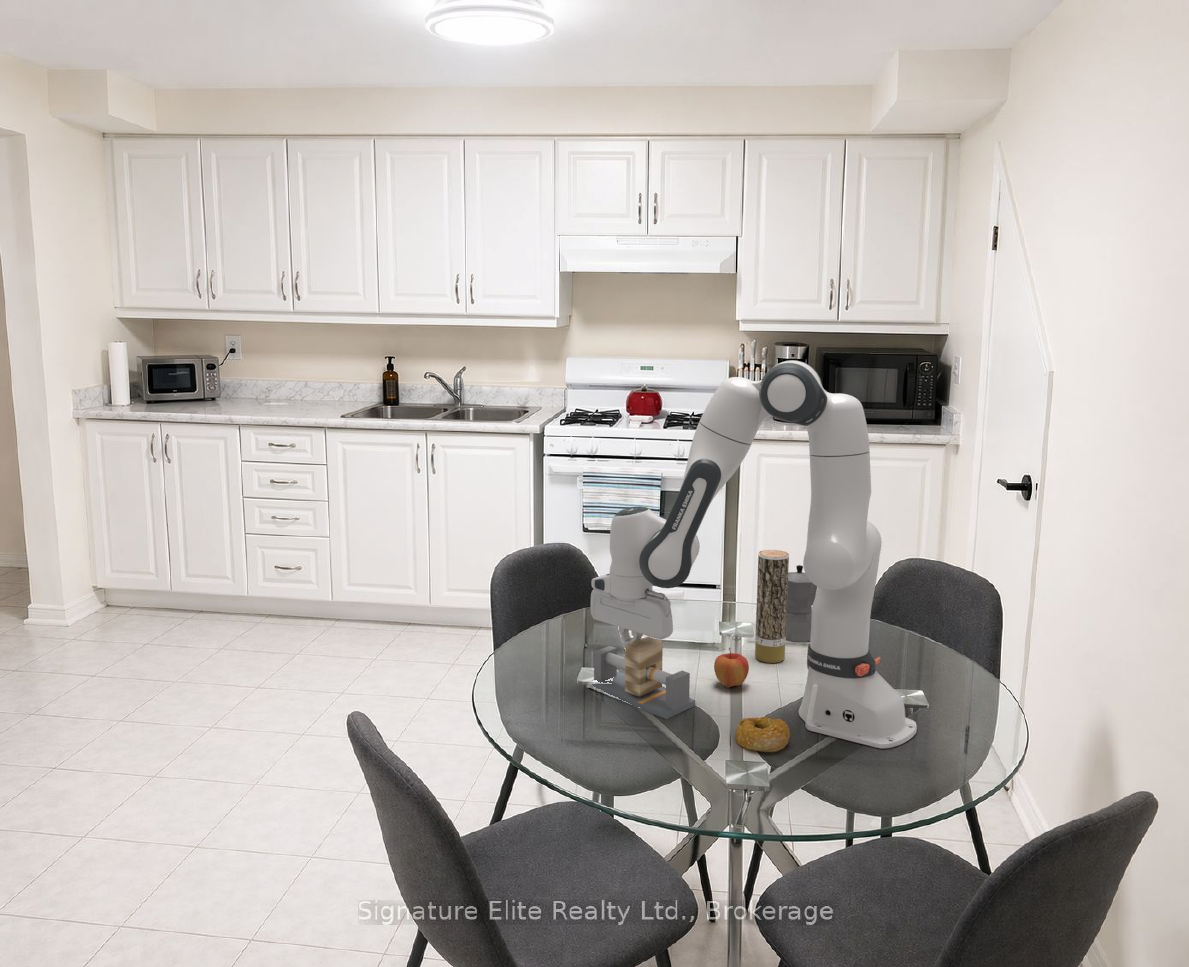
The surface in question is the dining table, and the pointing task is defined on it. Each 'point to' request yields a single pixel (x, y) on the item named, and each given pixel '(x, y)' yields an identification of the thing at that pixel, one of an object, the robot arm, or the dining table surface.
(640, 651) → the collar
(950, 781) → the dining table surface
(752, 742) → the bagel
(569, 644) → the dining table surface
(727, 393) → the robot arm
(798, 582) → the coffeepot
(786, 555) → the brown tall cylinder piece
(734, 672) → the apple
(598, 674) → the pipe stand
